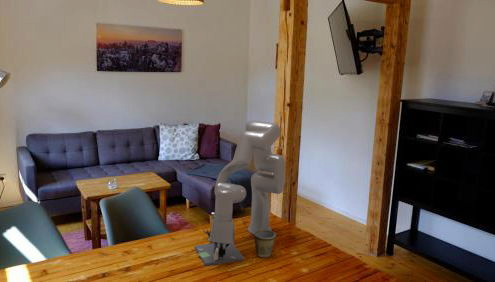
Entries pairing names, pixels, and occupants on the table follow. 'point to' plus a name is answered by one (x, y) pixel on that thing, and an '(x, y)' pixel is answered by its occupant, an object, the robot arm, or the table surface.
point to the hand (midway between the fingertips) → (221, 255)
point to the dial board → (207, 257)
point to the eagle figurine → (208, 234)
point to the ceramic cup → (264, 242)
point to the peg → (216, 251)
